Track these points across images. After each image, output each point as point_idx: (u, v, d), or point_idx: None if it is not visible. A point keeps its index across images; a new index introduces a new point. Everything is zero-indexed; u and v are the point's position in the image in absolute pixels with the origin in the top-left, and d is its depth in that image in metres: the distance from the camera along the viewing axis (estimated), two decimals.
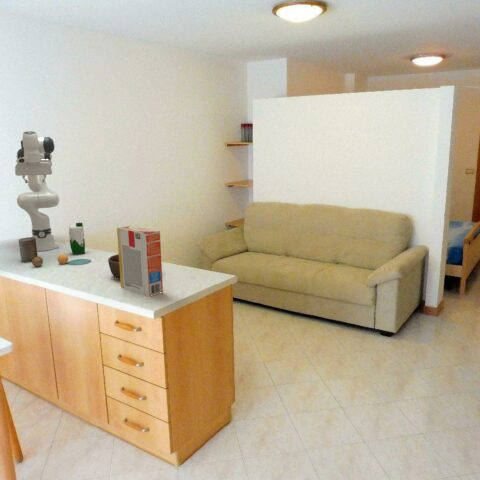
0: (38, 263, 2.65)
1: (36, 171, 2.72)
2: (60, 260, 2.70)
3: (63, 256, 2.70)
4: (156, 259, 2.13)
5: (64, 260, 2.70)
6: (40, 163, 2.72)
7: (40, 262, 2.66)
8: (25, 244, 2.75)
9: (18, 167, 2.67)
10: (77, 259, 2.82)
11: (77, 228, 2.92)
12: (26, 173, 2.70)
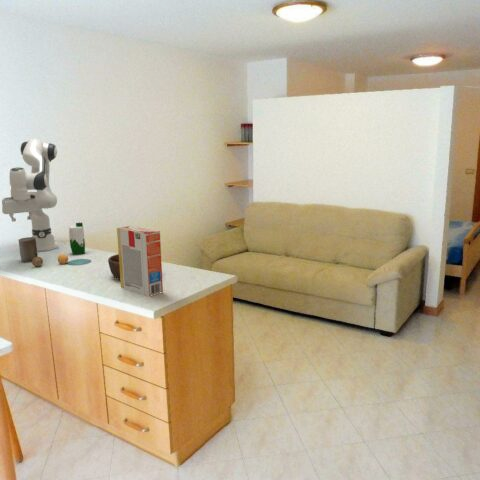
0: (38, 263, 2.65)
1: None
2: (60, 260, 2.70)
3: (63, 256, 2.70)
4: (156, 259, 2.13)
5: (64, 260, 2.70)
6: None
7: (40, 262, 2.66)
8: (25, 244, 2.75)
9: None
10: (77, 259, 2.82)
11: (77, 228, 2.92)
12: None
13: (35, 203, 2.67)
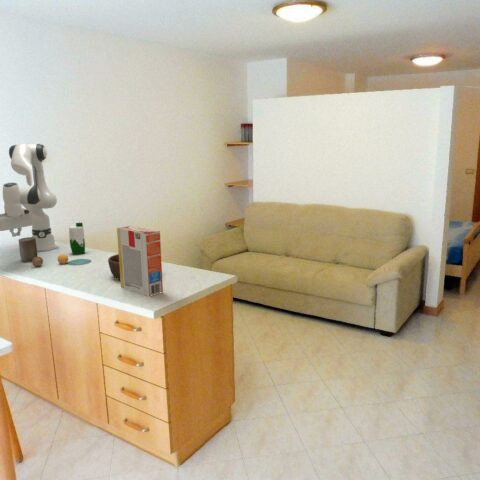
0: (38, 263, 2.65)
1: None
2: (60, 260, 2.70)
3: (63, 256, 2.70)
4: (156, 259, 2.13)
5: (64, 260, 2.70)
6: None
7: (40, 262, 2.66)
8: (25, 244, 2.75)
9: None
10: (77, 259, 2.82)
11: (77, 228, 2.92)
12: None
13: (29, 218, 2.64)
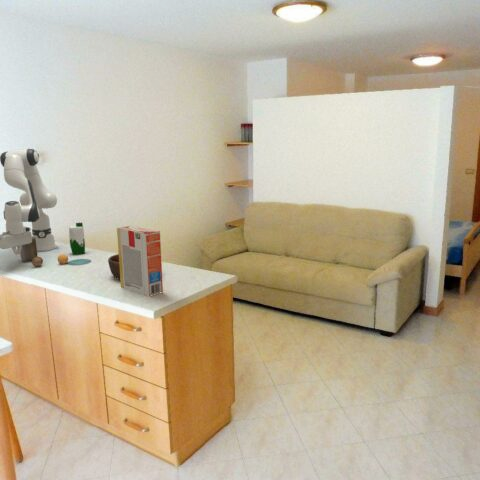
0: (38, 263, 2.65)
1: None
2: (60, 260, 2.70)
3: (63, 256, 2.70)
4: (156, 259, 2.13)
5: (64, 260, 2.70)
6: None
7: (40, 262, 2.66)
8: (25, 244, 2.75)
9: None
10: (77, 259, 2.82)
11: (77, 228, 2.92)
12: None
13: (29, 235, 2.67)
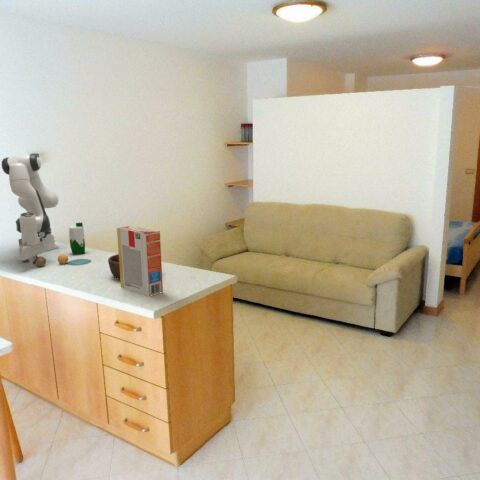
0: (41, 263, 2.65)
1: None
2: (60, 260, 2.70)
3: (63, 256, 2.70)
4: (156, 259, 2.13)
5: (64, 260, 2.70)
6: None
7: (43, 262, 2.66)
8: None
9: None
10: (77, 259, 2.82)
11: (77, 228, 2.92)
12: None
13: (42, 245, 2.72)
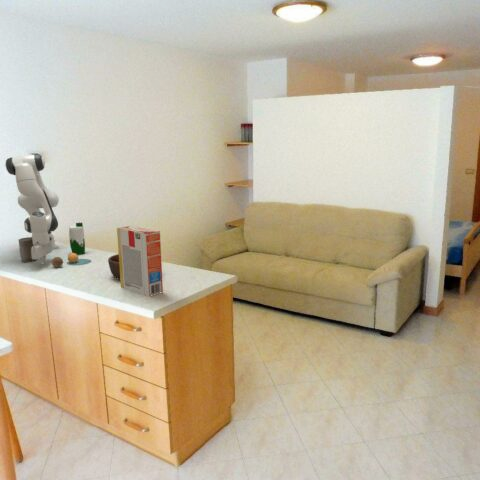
0: (53, 265, 2.64)
1: None
2: (73, 256, 2.72)
3: (76, 260, 2.73)
4: (156, 259, 2.13)
5: (72, 260, 2.72)
6: None
7: (52, 263, 2.65)
8: (25, 244, 2.75)
9: None
10: None
11: (77, 228, 2.92)
12: None
13: (50, 244, 2.75)
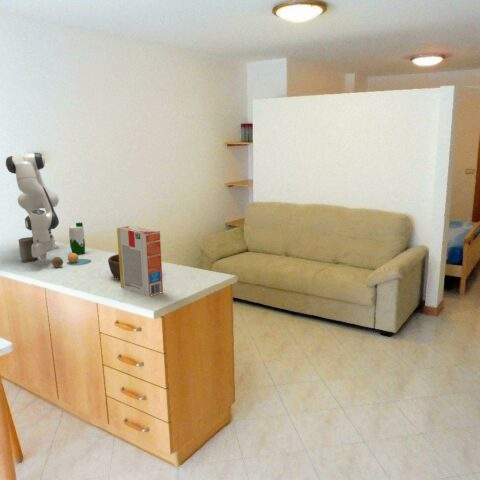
0: (53, 265, 2.64)
1: None
2: (73, 256, 2.72)
3: (76, 260, 2.73)
4: (156, 259, 2.13)
5: (72, 260, 2.72)
6: None
7: (52, 263, 2.65)
8: (25, 244, 2.75)
9: None
10: None
11: (77, 228, 2.92)
12: None
13: (51, 242, 2.75)
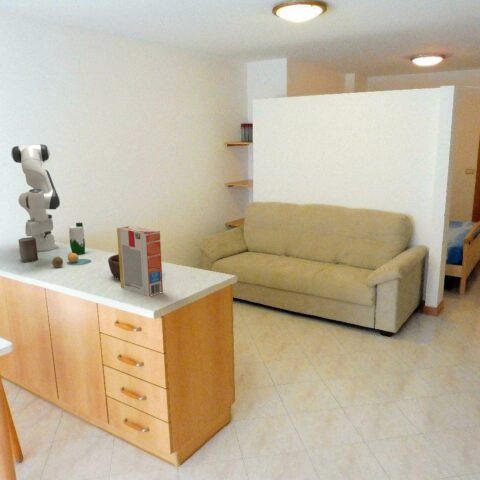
0: (53, 265, 2.64)
1: None
2: (73, 256, 2.72)
3: (76, 260, 2.73)
4: (156, 259, 2.13)
5: (72, 260, 2.72)
6: None
7: (52, 263, 2.65)
8: (25, 244, 2.75)
9: None
10: None
11: (77, 228, 2.92)
12: None
13: (51, 222, 2.71)
